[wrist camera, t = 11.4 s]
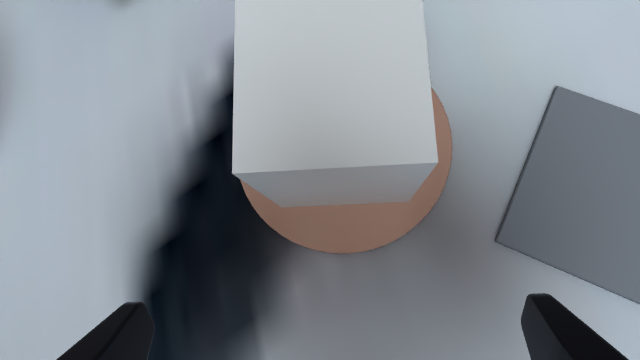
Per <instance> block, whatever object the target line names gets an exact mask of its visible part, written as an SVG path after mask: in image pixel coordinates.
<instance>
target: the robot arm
mask: <svg viewBox="0 0 640 360" xmlns="http://www.w3.org/2000/svg"><path fill="white" fill-rule="evenodd" d="M521 325H522V330H523V333H524V337H525V340H526V344H527V347H528V351H529V354H530V358H531V360H629V359H627V358H626V357H625V356H624V355H622V354H621V353H620V352H619V351H618V350H616V349H615V348H614V347H613V346H612V345H610V344H609V343H608V342H607V341H606V340H604V339H603V338H602V337H601V336H600V335H598V334H597V333H596V332H595V331H593V330H592V329H591V328H590V327H589V326H587V325H586V324H585V323H584V322H583V321H581V320H580V319H579V318H578V317H577V316H575V315H574V314H573V313H572V312H571V311H569V310H568V309H567V308H566V307H564V306H563V305H562V304H561V303H560V302H558V301H557V300H556V299H555V298H554V297H552V296H551V295H549V294H545V293H543V294H529V295H528V296H527V298H526V302H525V305H524V309H523V313H522V316H521ZM154 330H155V326H154V322H153V320H152V318H151V316H150V314H149V312H148V310H147V308H146V306H145V304H144V303H142V302H127V303H125V304H123V305H122V306H120V307H119V308H118V309H117V310H116V311H114V312H113V313H112V314H111V315H110V316H108V317H107V318H106V319H105V320H103V321H102V322H101V323H100V324H99V325H97V326H96V327H95V328H94V329H93V330H91V331H90V332H89V333H88V334H87V335H85V336H84V337H83V338H82V339H81V340H79V341H78V342H77V343H76V344H75V345H73V346H72V347H71V348H70V349H69V350H67V351H66V352H65V353H64V354H63V355H61V356H60V357H59V358H58V359H57V360H147V358H148V354H149V350H150V346H151V343H152V339H153V335H154Z"/></svg>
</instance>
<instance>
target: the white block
mask: <svg viewBox="0 0 640 360" xmlns="http://www.w3.org/2000/svg"><path fill="white" fill-rule="evenodd" d="M437 163H438V154H437V144H436V134H435V124H434V114H433V103H432V93H431V83H430V73H429V62H428V52H427V42H426V32H425V22H424V11H423V1H422V0H235V44H234V99H233V153H232V174H233V175H235V176H236V177H238V178H239V179H241V180H242V181H244V182H245V183H246V184H248V185H249V186H251V187H252V188H254V189H255V190H257V191H258V192H260V193H261V194H263V195H264V196H266V197H267V198H268V199H270V200H271V201H273V202H274V203H276V204H277V205H279V206H280V207H282V208H284V207H306V206H328V205H350V204H372V203H394V202H409V201H410V199H411V198H412V197H413V195H414V194H415V193H416V191H417V190H418V189H419V187H420V186H421V185H422V183H423V182H424V181H425V179H426V178H427V177H428V175H429V174H430V173H431V171H432V170H433V169H434V167H435V166H436V165H437Z"/></svg>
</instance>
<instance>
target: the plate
mask: <svg viewBox="0 0 640 360" xmlns="http://www.w3.org/2000/svg"><path fill="white" fill-rule="evenodd" d="M431 93H432V103H433V114H434V124H435V134H436V144H437V154H438V163H437V165H436V166H435V167H434V169H433V170H432V171H431V173H430V174H429V175H428V177H427V178H426V179H425V181H424V182H423V183H422V185H421V186H420V187H419V189H418V190H417V191H416V193H415V194H414V195H413V197H412V198H411V199H410V201H409V202H394V203H372V204H350V205H328V206H306V207H284V208H282V207H280V206H279V205H277V204H276V203H274V202H273V201H271V200H270V199H268V198H267V197H266V196H264V195H263V194H261V193H260V192H258V191H257V190H255V189H254V188H252V187H251V186H249V185H248V184H246V183H245V182H244V181H242V180H241V179H240V180H241V183H242V186H243V188H244V191H245V194H246V196H247V197H248V199H249V201H250V203H251V205H252V206H253V208H254V209H255V210H256V212H257V213H258V214H259V216H260V217H261V218H262V219H263V220H264V221H265V222H266V223H267V224H268V225H269V226H270V227H271V228H272V229H274V230H275V231H276V232H278V233H279V234H280V235H282V236H283V237H285V238H287V239H289V240H290V241H292V242H294V243H296V244H299V245H301V246H304V247H306V248H309V249H313V250H317V251H321V252H327V253H335V254H349V253H358V252H365V251H369V250H372V249H376V248H379V247H382V246H384V245H386V244H389V243H391V242H393V241H395V240H397V239H398V238H400V237H401V236H403V235H405V234H406V233H408V232H409V231H410V230H411V229H413V228H414V227H415V226H416V225H417V224H419V223H420V222H421V221H422V219H423V218H424V217H425V216H426V215H427V214H428V213H429V212H430V210H431V209H432V207H433V206H434V205H435V203H436V202H437V200H438V198H439V196H440V194H441V192H442V191H443V189H444V186H445V183H446V180H447V178H448V175H449V170H450V165H451V159H452V138H451V130H450V126H449V122H448V118H447V115H446V113H445V110H444V108H443V105H442V103H441V102H440V100H439V98H438V96H437V94H436V93H435V92H434V90H433V89H432V88H431Z"/></svg>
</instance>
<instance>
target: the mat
mask: <svg viewBox="0 0 640 360" xmlns="http://www.w3.org/2000/svg"><path fill="white" fill-rule="evenodd" d="M495 242H497V243H500V244H502V245H504V246H506V247H509V248H511V249H513V250H516V251H518V252H520V253H523V254H525V255H527V256H530V257H532V258H534V259H536V260H539V261H541V262H543V263H546V264H548V265H550V266H553V267H555V268H557V269H559V270H562V271H564V272H566V273H569V274H571V275H573V276H576V277H578V278H580V279H583V280H585V281H587V282H589V283H592V284H594V285H596V286H599V287H601V288H603V289H606V290H608V291H610V292H613V293H615V294H617V295H619V296H622V297H624V298H626V299H629V300H631V301H633V302H636V303H638V304H640V115H639V114H637V113H634V112H631V111H628V110H625V109H622V108H619V107H617V106H614V105H611V104H608V103H605V102H602V101H599V100H596V99H594V98H591V97H588V96H585V95H582V94H579V93H576V92H573V91H571V90H568V89H565V88H562V87H559V86H557V87H556V88H555V89H554V92H553V94H552V97H551V99H550V102H549V104H548V107H547V110H546V112H545V115H544V117H543V120H542V122H541V125H540V127H539V130H538V133H537V135H536V138H535V140H534V143H533V145H532V148H531V150H530V153H529V156H528V158H527V161H526V163H525V166H524V168H523V171H522V173H521V176H520V179H519V181H518V184H517V186H516V189H515V191H514V194H513V196H512V199H511V202H510V204H509V207H508V209H507V212H506V214H505V217H504V219H503V222H502V225H501V227H500V230H499V232H498V235H497V237H496V240H495Z"/></svg>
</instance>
